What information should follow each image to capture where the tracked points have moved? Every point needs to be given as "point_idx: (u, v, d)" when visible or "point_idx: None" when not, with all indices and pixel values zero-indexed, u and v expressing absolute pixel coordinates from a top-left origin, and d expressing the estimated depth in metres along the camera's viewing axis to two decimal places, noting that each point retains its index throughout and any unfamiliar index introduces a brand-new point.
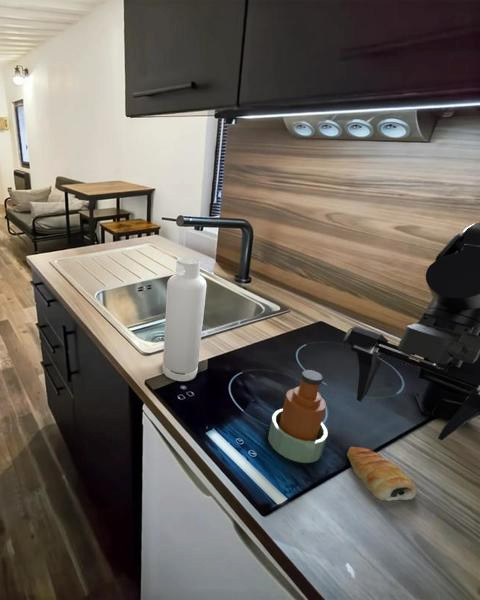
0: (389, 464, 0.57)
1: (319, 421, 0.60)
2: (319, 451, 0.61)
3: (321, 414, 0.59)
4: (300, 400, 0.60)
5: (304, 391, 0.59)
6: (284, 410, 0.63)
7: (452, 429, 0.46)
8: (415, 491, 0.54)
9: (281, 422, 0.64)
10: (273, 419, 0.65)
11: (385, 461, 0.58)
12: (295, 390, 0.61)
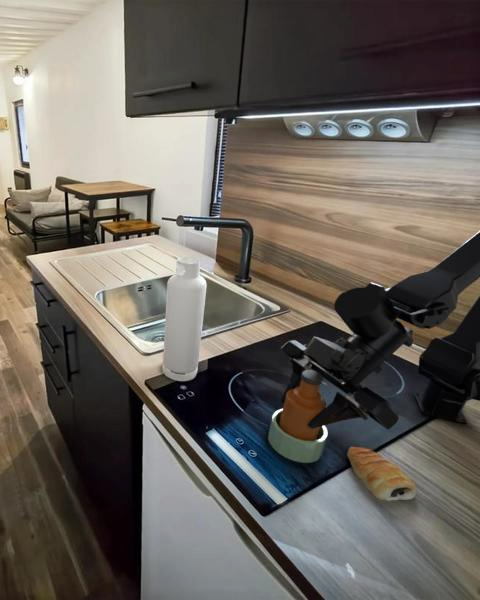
0: (389, 464, 0.57)
1: None
2: (319, 451, 0.61)
3: None
4: (300, 400, 0.60)
5: (304, 391, 0.59)
6: (284, 410, 0.63)
7: (318, 419, 0.58)
8: (415, 491, 0.54)
9: (281, 422, 0.64)
10: (273, 419, 0.65)
11: (385, 461, 0.58)
12: (295, 390, 0.61)
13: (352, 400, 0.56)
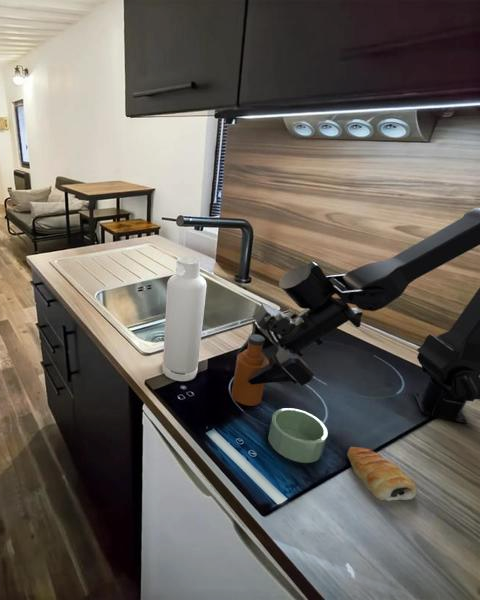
0: (389, 464, 0.57)
1: None
2: (319, 451, 0.61)
3: None
4: (244, 357, 0.73)
5: (248, 350, 0.72)
6: None
7: (255, 376, 0.69)
8: (415, 491, 0.54)
9: None
10: (273, 419, 0.65)
11: (385, 461, 0.58)
12: (245, 350, 0.74)
13: None
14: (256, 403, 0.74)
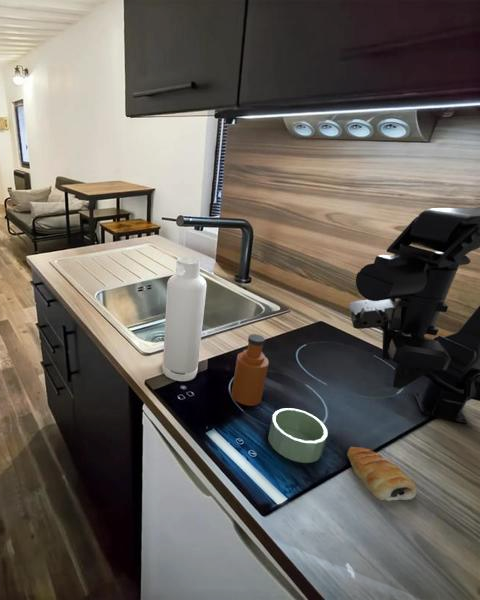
0: (389, 464, 0.57)
1: (258, 377, 0.72)
2: (319, 451, 0.61)
3: (259, 371, 0.71)
4: (244, 357, 0.73)
5: (248, 350, 0.72)
6: None
7: (394, 379, 0.60)
8: (415, 491, 0.54)
9: None
10: (273, 419, 0.65)
11: (385, 461, 0.58)
12: (245, 350, 0.74)
13: None
14: (256, 403, 0.74)
